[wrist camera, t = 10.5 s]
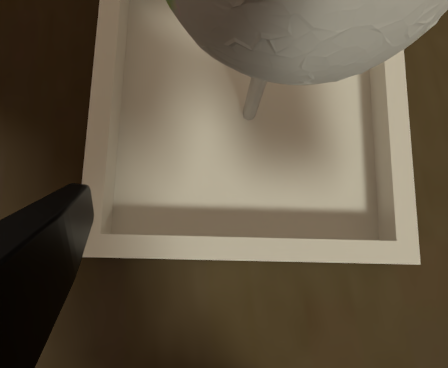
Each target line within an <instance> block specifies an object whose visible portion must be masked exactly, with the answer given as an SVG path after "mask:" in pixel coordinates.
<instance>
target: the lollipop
mask: <svg viewBox="0 0 448 368" xmlns="http://www.w3.org/2000/svg"><path fill="white" fill-rule="evenodd" d="M166 2H167V4H168V5H169V7H170V9H171V10H172V12H173V13H174V15H175V16H176V18H177V19H178V21H179V22H180V23H181V25H182V26H183V28H184V29H185V30H186V31H187V32H188V34H189V35H190V36H191V37H192V38H193V40H194V41H195V42H196V44H197V45H198V46H199V47H200V48H201V49H202V50H204V51H205V52H206V53H208V54H209V55H210V56H211V57H213V58H214V59H216V60H217V61H219V62H221V63H222V64H224V65H226V66H228V67H230V68H232V69H234V70H236V71H238V72H240V73H242V74H245V75H247V76H249V77H251V80H250V84H249V88H248V92H247V96H246V100H245V104H244V108H243V117H244V118H245V119H247V120H252V119H253V118H254V117H255V115H256V112H257V110H258V107H259V104H260V101H261V98H262V95H263V92H264V89H265V86H266V83H267V82H272V83H278V84H287V85H314V84H321V83H327V82H337V81H339V80H342V79H345V78H348V77H351V76H354V75H357V74H362V73H363V72H365V71H367V70H369V69H371V68H373V67H375V66H377V65H379V64H381V63H383V62H384V61H386V60H388V59H390V58H391V57H393V56H394V55H396V54H397V53H399V52H400V51H402V50H404V49H405V48H406V47H408V46H409V45H410V44H412V43H413V42H414V41H416V40H417V39H418V38H419V37H420V36H422V35H423V34H424V33H425V32H426V31H428V30H429V29H430V28H431V27H432V26H434V25H435V24H436V23H437V22H438V20H439V18H440V17H441V16H442V15H443V14H444V13H445V12H446V11H447V10H448V0H166Z"/></svg>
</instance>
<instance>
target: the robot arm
mask: <svg viewBox="0 0 448 368" xmlns="http://www.w3.org/2000/svg"><path fill="white" fill-rule="evenodd" d="M93 220H94V209H93V202H92V195H91V189H90V187H89V186H88V185H86V184H75V183H71V184H68V185H66V186H65V187H63V188H61V189H59V190H57V191H55V192H53V193H51V194H49V195H47V196H45V197H44V198H42V199H40V200H38V201H36V202H34V203H32V204H30V205H28V206H26V207H24V208H23V209H21V210H19V211H17V212H15V213H13V214H11V215H9V216H7V217H5V218H4V219H2V220H0V368H35V366H36V364H37V362H38V359H39V357H40V355H41V353H42V351H43V348H44V346H45V344H46V342H47V339H48V337H49V335H50V333H51V331H52V328H53V326H54V324H55V322H56V320H57V317H58V315H59V313H60V311H61V309H62V306H63V304H64V302H65V300H66V298H67V295H68V293H69V291H70V289H71V287H72V284H73V282H74V279H75V277H76V274H77V271H78V268H79V265H80V262H81V259H82V256H83V253H84V249H85V246H86V243H87V240H88V237H89V233H90V230H91V227H92V224H93Z"/></svg>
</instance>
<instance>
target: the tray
mask: <svg viewBox="0 0 448 368" xmlns="http://www.w3.org/2000/svg"><path fill="white" fill-rule="evenodd" d="M250 80H251V77H249V76H247V75H245V74H242V73H240V72H238V71H236V70H234V69H232V68H230V67H228V66H226V65H224V64H222V63H221V62H219V61H217V60H216V59H214V58H213V57H211V56H210V55H209V54H208V53H206V52H205V51H204V50H202V49H201V48H200V47H199V46H198V45H197V44H196V42H195V41H194V40H193V38H192V37H191V36H190V35H189V34H188V32H187V31H186V30H185V29H184V28H183V26H182V25H181V23H180V22H179V21H178V19H177V18H176V16H175V15H174V13H173V12H172V10H171V9H170V7H169V5H168V4H167V2H166V0H100V1H99V12H98V22H97V32H96V42H95V53H94V63H93V73H92V83H91V93H90V104H89V114H88V124H87V134H86V145H85V155H84V165H83V175H82V184H86V185H88V186H89V187H90V189H91V195H92V202H93V209H94V220H93V224H92V227H91V230H90V233H89V237H88V240H87V243H86V246H85V249H84V253H83V256H82V257H99V258H145V259H191V260H237V261H283V262H328V263H374V264H420V265H421V263H420V251H419V238H418V225H417V213H416V200H415V187H414V175H413V162H412V149H411V137H410V124H409V111H408V99H407V86H406V73H405V60H404V50H402V51H400V52H399V53H397V54H396V55H394V56H393V57H391V58H390V59H388V60H386V61H384V62H383V63H381V64H379V65H377V66H375V67H373V68H371V69H369V70H367V71H365V72H363V73H362V74H357V75H354V76H351V77H348V78H345V79H342V80H339V81H337V82H327V83H321V84H314V85H287V84H278V83H272V82H267V83H266V86H265V89H264V92H263V95H262V98H261V101H260V104H259V107H258V110H257V112H256V115H255V117H254V118H253V119H252V120H247V119H245V118H244V117H243V108H244V104H245V100H246V96H247V92H248V88H249V84H250Z"/></svg>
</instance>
